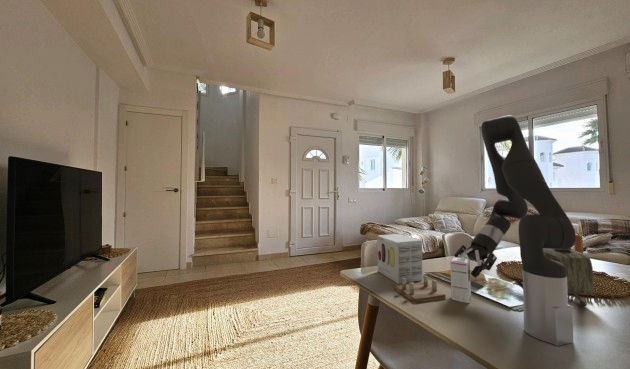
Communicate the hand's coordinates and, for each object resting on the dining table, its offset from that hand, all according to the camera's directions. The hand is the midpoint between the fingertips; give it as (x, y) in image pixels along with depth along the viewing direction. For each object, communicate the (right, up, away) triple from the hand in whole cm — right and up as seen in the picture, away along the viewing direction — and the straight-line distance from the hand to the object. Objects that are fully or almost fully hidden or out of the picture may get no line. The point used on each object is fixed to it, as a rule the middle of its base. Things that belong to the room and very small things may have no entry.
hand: (463, 272), depth 94 cm
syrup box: (-1, -10, -1) cm, 10 cm away
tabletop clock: (+35, -10, -2) cm, 37 cm away
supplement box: (-16, -11, +25) cm, 31 cm away
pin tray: (-15, -10, +4) cm, 18 cm away
